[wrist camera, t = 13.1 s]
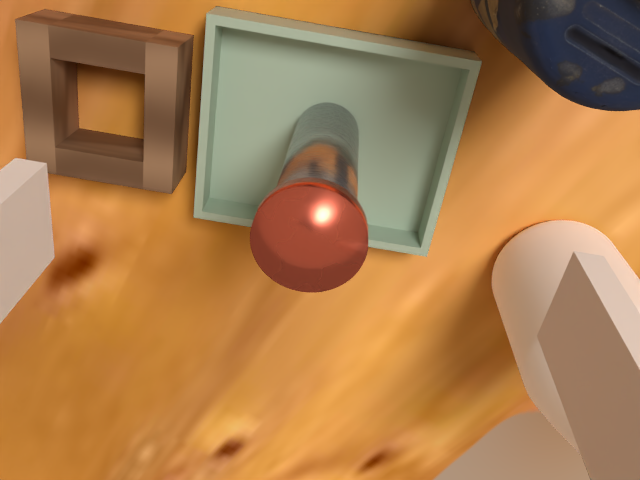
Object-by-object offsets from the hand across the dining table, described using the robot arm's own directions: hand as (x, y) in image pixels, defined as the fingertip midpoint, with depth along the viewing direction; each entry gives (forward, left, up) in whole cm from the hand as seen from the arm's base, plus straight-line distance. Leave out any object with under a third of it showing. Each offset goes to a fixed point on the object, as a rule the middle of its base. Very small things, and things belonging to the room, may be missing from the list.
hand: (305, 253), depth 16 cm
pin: (+7, 0, -28) cm, 29 cm away
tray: (+7, 0, -29) cm, 29 cm away
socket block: (+7, -15, -29) cm, 33 cm away
